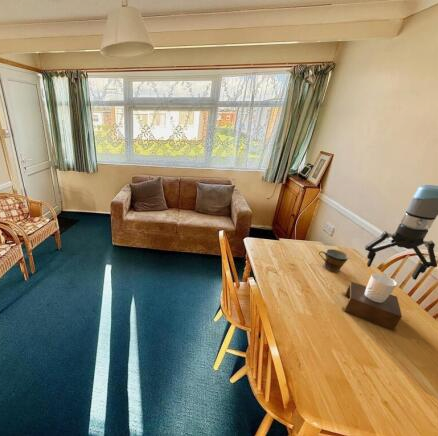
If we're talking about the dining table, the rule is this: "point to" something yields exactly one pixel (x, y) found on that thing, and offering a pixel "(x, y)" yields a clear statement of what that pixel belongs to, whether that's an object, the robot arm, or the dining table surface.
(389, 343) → the dining table surface
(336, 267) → the ceramic cup
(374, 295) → the white cup
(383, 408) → the dining table surface
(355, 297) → the dark brown wooden box
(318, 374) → the dining table surface
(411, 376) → the dining table surface
